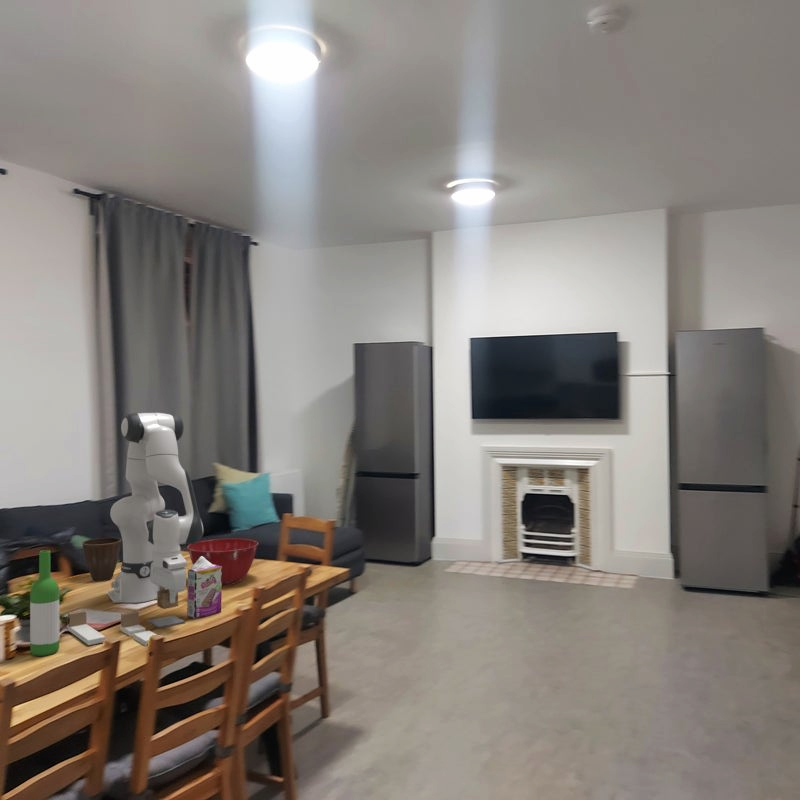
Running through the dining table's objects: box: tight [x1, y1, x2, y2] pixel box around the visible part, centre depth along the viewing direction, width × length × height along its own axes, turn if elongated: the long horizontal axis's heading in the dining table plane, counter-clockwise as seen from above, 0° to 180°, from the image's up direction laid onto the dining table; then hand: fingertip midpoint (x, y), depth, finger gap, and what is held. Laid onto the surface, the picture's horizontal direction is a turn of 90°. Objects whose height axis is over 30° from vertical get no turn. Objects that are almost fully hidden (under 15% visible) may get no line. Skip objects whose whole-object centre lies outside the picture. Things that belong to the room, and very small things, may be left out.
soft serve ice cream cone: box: [190, 556, 212, 569], centre depth 275 cm, size 8×8×16 cm
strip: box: [67, 609, 106, 646], centre depth 230 cm, size 20×5×6 cm, turn 41°
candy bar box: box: [186, 565, 223, 620], centre depth 254 cm, size 11×5×16 cm, turn 141°
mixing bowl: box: [186, 538, 259, 586], centre depth 300 cm, size 28×28×16 cm
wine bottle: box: [29, 549, 60, 657], centre depth 216 cm, size 8×8×30 cm
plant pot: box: [81, 537, 122, 582], centre depth 304 cm, size 15×15×16 cm
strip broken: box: [120, 610, 157, 647], centre depth 231 cm, size 20×5×6 cm, turn 41°
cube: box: [156, 589, 179, 610], centre depth 245 cm, size 5×5×5 cm
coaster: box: [147, 615, 186, 629], centre depth 245 cm, size 9×9×1 cm
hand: (167, 600), depth 245 cm, fingers closed on cube, 5 cm apart
